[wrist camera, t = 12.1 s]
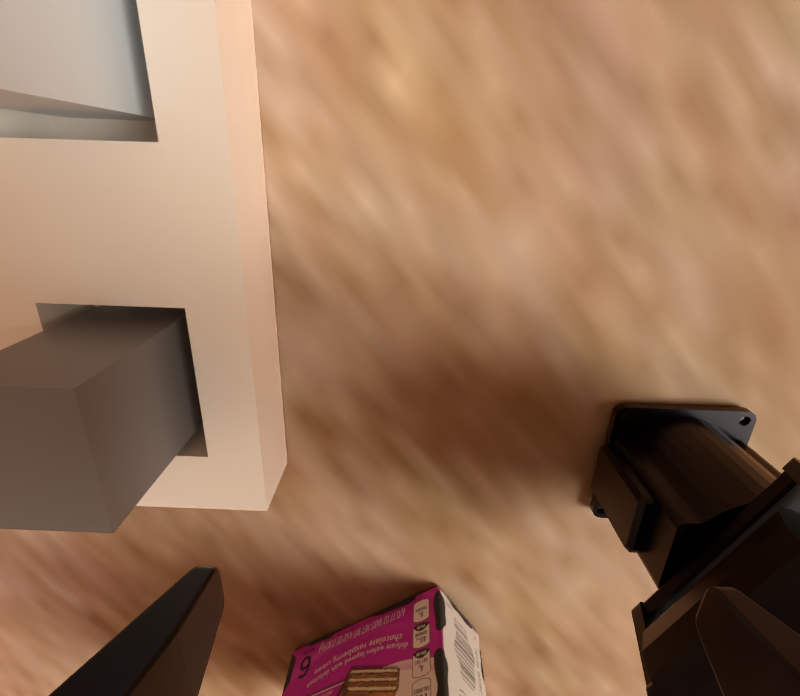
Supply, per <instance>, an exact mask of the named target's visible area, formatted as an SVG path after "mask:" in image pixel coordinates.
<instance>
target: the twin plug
mask: <svg viewBox="0 0 800 696" xmlns="http://www.w3.org/2000/svg"><path fill="white" fill-rule="evenodd" d="M202 423H203V421H202V414H201V408H200V402H199V395H198V389H197V382H196V376H195V370H194V363H193V357H192V351H191V344H190V338H189V332H188V325H187V319H186V313H185V308H165V307H137V306H108V305H100V306H98V307H95V308H93V309H91V310H89V311H86V312H84V313H82V314H80V315H78V316H75V317H73V318H71V319H69V320H66V321H64V322H62V323H60V324H58V325H55V326H53V327H51V328H49V329H46V330H44V331H42V332H40V333H38V334H35V335H33V336H31V337H29V338H26V339H24V340H22V341H20V342H18V343H15V344H13V345H11V346H9V347H6V348H4V349H2V350H0V529H23V530H49V531H74V532H99V533H114V532H115V531H116V529H117V528H118V527H119V526H120V524H121V523H122V522H123V521H124V519H125V518H126V517H127V516H128V515H129V513H130V512H131V511H132V510H133V508H134V507H135V506H136V505H137V503H138V502H139V501H140V500H141V498H142V497H143V496H144V495H145V493H146V492H147V491H148V490H149V489H150V487H151V486H152V485H153V484H154V482H155V481H156V480H157V479H158V477H159V476H160V475H161V474H162V472H163V471H164V470H165V469H166V468H167V466H168V465H169V464H170V463H171V461H172V460H173V459H174V458H175V456H176V455H177V454H178V453H179V451H180V450H181V449H182V448H183V447H184V445H185V444H186V443H187V442H188V440H189V439H190V438H191V437H192V435H193V434H194V433H195V432H196V430H197V429H198V428H199V427H200V426H201V424H202Z"/></svg>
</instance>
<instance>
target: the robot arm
mask: <svg viewBox="0 0 800 696" xmlns="http://www.w3.org/2000/svg"><path fill="white" fill-rule="evenodd" d="M625 412H628V414H627V415H626V416H625V417H621V415H622V414H623V413H625ZM743 417H744V419H743V420H741V421H740V419H741V418H743ZM755 423H756V416H755V414H753V413H752V412H751V411H749V410H748V409H747V408H743V407H716V406H688V405H661V404H634V403H622V404H619V405H617V406H616V407H615V408H614V409H613V411H612V414H611V418H610V423H609V427H608V431H607V435H606V439H605V443H604V444H603V445H602V446H601V447H600V451H599V455H598V459H597V464H596V468H595V472H594V476H593V481H592V485H591V488H592V490H593V494H592V498H591V502H590V508H591V510H592V512H593V513H594V515H595V516H597V517H600V518H608V519H609V521H610V522H611V524H612V526H613V528H614V529H615V531H616V533H617V535H618V537H619V538H620V540H621V542H622V544H623V546H624V547H625V548H626V549H627V550H628V551H629V552H637V553H638V555H639V557H640V559H641V560H642V562H643V564H644V565H645V567H646V569H647V571H648V572H649V574H650V576H651V577H652V579H653V581H654V583H655V584H656V586H657V588H658V590H657V591H656V592H655V593H654V594H653V595H652V596H651V597H650V598H648V599H647V600H646V601H645V602H644V603H643V602H640V603H639V604H638V605H637V606H636V607H635V608H634V609H633V610H632V617H633V622H634V626H635V631H636V636H637V641H638V646H639V651H640V656H641V661H642V666H643V671H644V676H645V681H646V686H647V687H646V691H647V696H800V460H798V459H796V458H793V459H792V460H791V461H789V462H788V463H787V464H786V465H785V466H784V467H783V468H782V469H783V470H784V472H783V473H782V474H781V473H780V472H779V471H778V470H776V469H775V468H774V467H773V466H772V465H770V464H769V463H768V462H767V461H766V460H764V459H763V458H762V457H761V456H760V455H758V454H757V453H756V452H755V451H754V450H752V449H751V448H750V447H749V446H748V445H747V444H748V441H749V438H750V436H751V433H752V430H753V428H754V425H755ZM601 506H602V508H599V507H601ZM223 607H224V594H223V588H222V582H221V576H220V571H219V569H218V568H217V567H212V566H197V567H194V568H193V569H191V570H190V571H189V572H188V573H187V574H186V575H184V576H183V577H182V578H181V579H180V580H179V581H178V582H177V583H175V584H174V585H173V586H172V587H171V588H170V589H169V590H167V591H166V592H165V593H164V594H163V595H162V596H161V597H160V598H158V599H157V600H156V601H155V602H154V603H153V604H152V605H151V606H149V607H148V608H147V609H146V610H145V611H144V612H143V613H141V614H140V615H139V616H138V617H137V618H136V619H135V620H134V621H132V622H131V623H130V624H129V625H128V626H127V627H126V628H125V629H123V630H122V631H121V632H120V633H119V634H118V635H117V636H115V637H114V638H113V639H112V640H111V641H110V642H109V643H108V644H106V645H105V646H104V647H103V648H102V649H101V650H100V651H99V652H97V653H96V654H95V655H94V656H93V657H92V658H91V659H89V660H88V661H87V662H86V663H85V664H84V665H83V666H82V667H80V668H79V669H78V670H77V671H76V672H75V673H74V674H73V675H71V676H70V677H69V678H68V679H67V680H66V681H65V682H64V683H62V684H61V685H60V686H59V687H58V688H57V689H56V690H54V691H53V692H52V693H51V694H50V695H49V696H198V694H199V690H200V687H201V684H202V680H203V677H204V673H205V670H206V667H207V663H208V660H209V656H210V653H211V650H212V646H213V643H214V639H215V636H216V632H217V629H218V626H219V622H220V619H221V615H222V612H223Z"/></svg>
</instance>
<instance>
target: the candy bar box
mask: <svg viewBox="0 0 800 696" xmlns="http://www.w3.org/2000/svg"><path fill="white" fill-rule="evenodd" d="M282 696H486V690H485V685H484V675H483V667H482V659H481V651H480V646H479V637H478V633H477V631H476V630H475V629H474V627H473V626H472V625H471V624H470V622H469V621H468V620H467V619H466V618H465V617H464V616H463V615H462V614H461V612H460V611H459V610H458V609H457V607H456V606H455V605H454V604H453V603H452V601H451V600H450V598H449V597H448V596H447V595H446V594H445V593H444V592H443V590H442V589H441V588H440V587H435V588H432V589H430V590H428V591H426V592H424V593H421V594H419V595H417V596H415V597H413V598H411V599H409V600H406V601H404V602H402V603H400V604H398V605H395V606H393V607H391V608H389V609H386V610H385V611H382V612H380V613H378V614H376V615H373V616H371V617H369V618H367V619H364V620H362V621H360V622H358V623H356V624H353V625H351V626H349V627H347V628H345V629H343V630H340V631H338V632H336V633H333V634H331V635H329V636H327V637H324V638H322V639H320V640H318V641H315V642H313V643H311V644H309V645H307V646H304V647H302V648H300V649H298V650H295V651H294V652H293V655H292V659H291V662H290V666H289V670H288V674H287V678H286V682H285V686H284V690H283V694H282Z"/></svg>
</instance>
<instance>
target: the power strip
mask: <svg viewBox="0 0 800 696" xmlns="http://www.w3.org/2000/svg"><path fill="white" fill-rule="evenodd" d="M136 2H137V8H138V15H139V21H140V27H141V34H142V40H143V46H144V53H145V59H146V65H147V72H148V78H149V84H150V91H151V97H152V103H153V110H154V116H155V121H141V120H115V119H89V118H68V117H61V116H54V115H46V114H39V113H32V112H25V111H18V110H11V109H4V108H0V350H2V349H4V348H6V347H9V346H11V345H13V344H15V343H18V342H20V341H22V340H24V339H26V338H29V337H31V336H33V335H35V334H38V333H40V332H42V331H44V330H46V329H49V328H51V327H53V326H55V325H58V324H60V323H62V322H64V321H66V320H69V319H71V318H73V317H75V316H78V315H80V314H82V313H84V312H86V311H89V310H91V309H93V308H95V307H98V306H100V305H108V306H137V307H165V308H185V313H186V319H187V325H188V332H189V338H190V344H191V351H192V357H193V363H194V370H195V376H196V382H197V389H198V395H199V402H200V408H201V414H202V421H203V423H202V424H201V426H200V427H199V428H198V429H197V430H196V432H195V433H194V434H193V435H192V437H191V438H190V439H189V440H188V442H187V443H186V444H185V445H184V447H183V448H182V449H181V450H180V451H179V453H178V454H177V455H176V456H175V458H174V459H173V460H172V461H171V463H170V464H169V465H168V466H167V468H166V469H165V470H164V471H163V472H162V474H161V475H160V476H159V477H158V479H157V480H156V481H155V482H154V484H153V485H152V486H151V487H150V489H149V490H148V491H147V492H146V493H145V495H144V496H143V497H142V498H141V500H140V501H139V502H138V503H137V505H136V506H152V507H178V508H204V509H229V510H255V511H267V510H268V508H269V505H270V503H271V501H272V498H273V496H274V493H275V491H276V489H277V486H278V484H279V481H280V479H281V477H282V474H283V472H284V469H285V467H286V465H287V451H286V439H285V426H284V413H283V400H282V388H281V375H280V362H279V349H278V337H277V324H276V311H275V298H274V286H273V273H272V260H271V247H270V235H269V222H268V209H267V196H266V184H265V171H264V158H263V146H262V133H261V120H260V107H259V95H258V82H257V69H256V56H255V44H254V31H253V18H252V5H251V0H136Z"/></svg>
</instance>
